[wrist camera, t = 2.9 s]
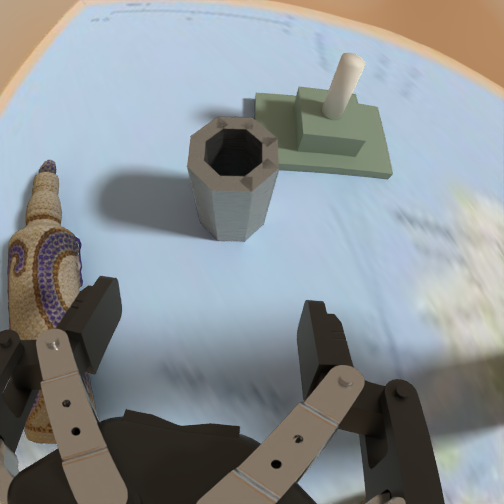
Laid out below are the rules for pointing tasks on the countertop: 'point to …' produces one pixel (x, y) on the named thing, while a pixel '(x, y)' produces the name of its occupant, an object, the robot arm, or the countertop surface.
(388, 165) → the green peg stand
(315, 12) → the countertop surface
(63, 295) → the decorative bottle
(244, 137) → the hub
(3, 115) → the countertop surface
